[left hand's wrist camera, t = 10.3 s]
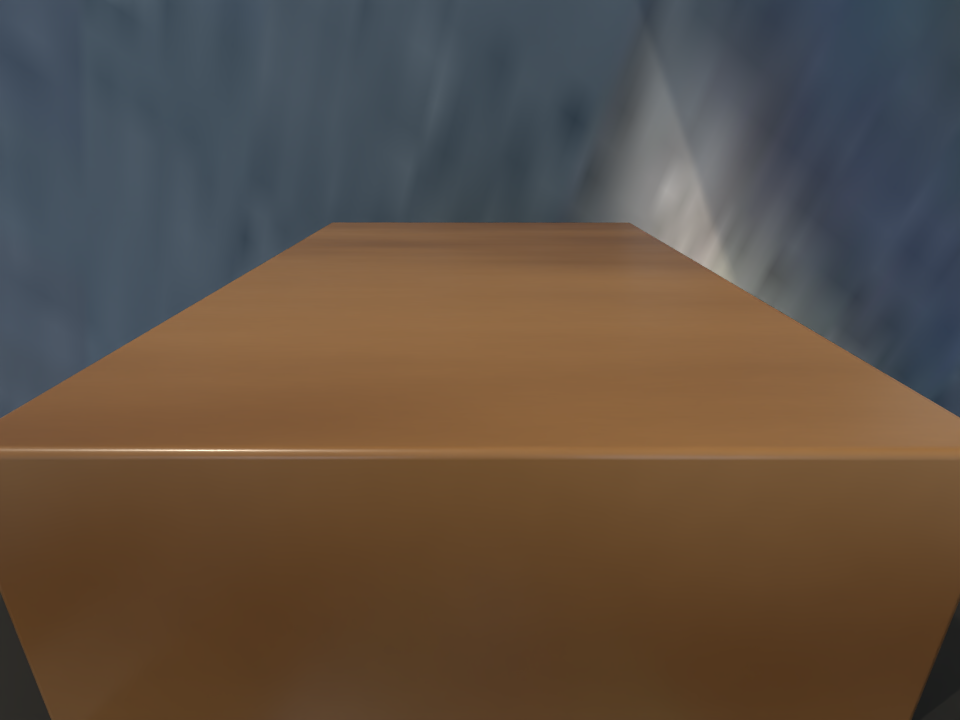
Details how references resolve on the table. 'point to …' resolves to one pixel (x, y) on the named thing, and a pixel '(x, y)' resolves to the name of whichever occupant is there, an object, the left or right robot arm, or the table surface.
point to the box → (480, 497)
